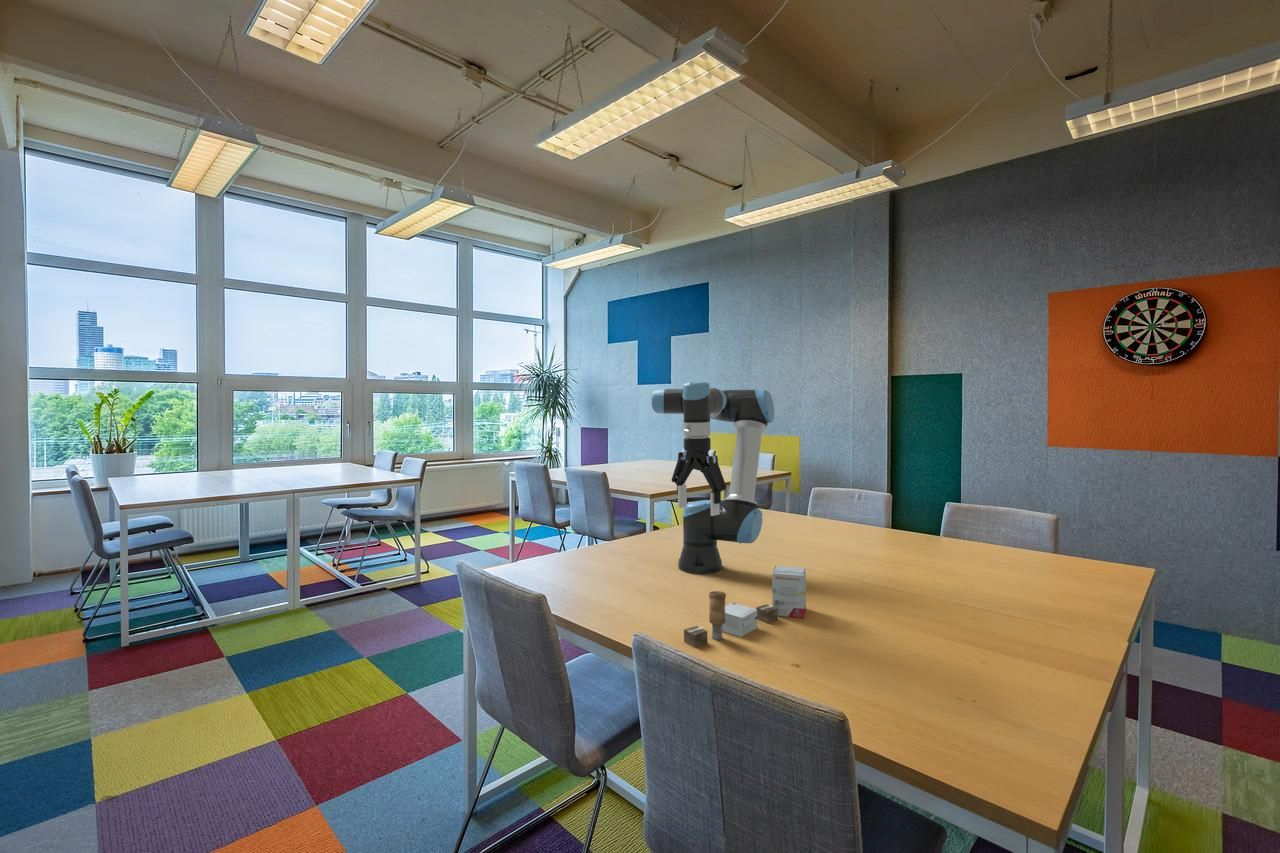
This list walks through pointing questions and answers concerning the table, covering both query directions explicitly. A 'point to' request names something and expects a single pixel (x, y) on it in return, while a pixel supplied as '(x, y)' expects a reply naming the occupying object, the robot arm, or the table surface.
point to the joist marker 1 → (695, 636)
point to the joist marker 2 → (767, 613)
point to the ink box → (789, 591)
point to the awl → (717, 613)
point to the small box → (739, 619)
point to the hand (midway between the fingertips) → (698, 511)
